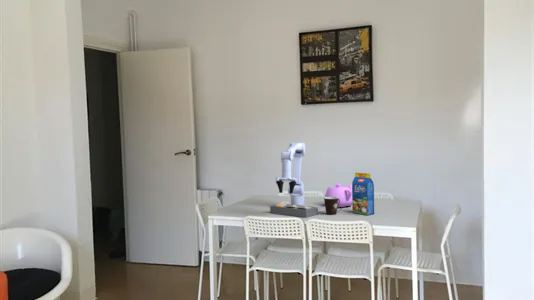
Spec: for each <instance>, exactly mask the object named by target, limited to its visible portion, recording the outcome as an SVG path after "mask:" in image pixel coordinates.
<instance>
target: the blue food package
mask: <svg viewBox="0 0 534 300" xmlns="http://www.w3.org/2000/svg"><path fill="white" fill-rule="evenodd" d="M351 184H352V205H351V207H352V210H351V211H352V213H353V214H357V215H362V216H371V215H375V185H374V182H373V180H372V178H371V173H367V172H365V173H364V172H356V171H355V172H354V178H353V179H352V183H351Z"/></svg>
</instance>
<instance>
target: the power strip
mask: <svg viewBox="0 0 534 300" xmlns="http://www.w3.org/2000/svg"><path fill="white" fill-rule="evenodd" d="M277 204H278V203H277ZM277 204H272V205H270V206H269V208H270V209H269V211H270V214H275V213H276V215H283V216H285V215H286V216H291V217H299V218H306V219H308V218H310V217H313V216H317V215H319V207H318V206H313V205H312V206H310V205H307V206H308V207H312V208H310V209H304V208H297V207H296V208H295V207H288V206H283V207H278V206H276V205H277ZM290 204H291V203H290ZM291 205H294V204H291ZM296 206H299V205H296ZM300 206H303V205H300Z"/></svg>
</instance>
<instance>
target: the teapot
mask: <svg viewBox="0 0 534 300" xmlns="http://www.w3.org/2000/svg"><path fill="white" fill-rule="evenodd" d="M325 197H338V199H339V200H340V203H339V200H338V203H339V205H338V206H337V209H340V207H341V208H344V207H346V206H348V207H349V206H351V207H352V183H350V185H349V186H343V185H342V183H336V184H335V185H334V186H329V187H327V189H326V192H325V195H324V198H325Z"/></svg>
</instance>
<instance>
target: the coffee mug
mask: <svg viewBox="0 0 534 300" xmlns="http://www.w3.org/2000/svg"><path fill="white" fill-rule="evenodd" d="M323 199H324V200H323V201H324V209H325V215H328V216H335V215H338V208H337V206H338V205H339V203H340V200H339V199H338V197H325V196H324V197H323ZM338 200H339V203H338Z"/></svg>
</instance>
